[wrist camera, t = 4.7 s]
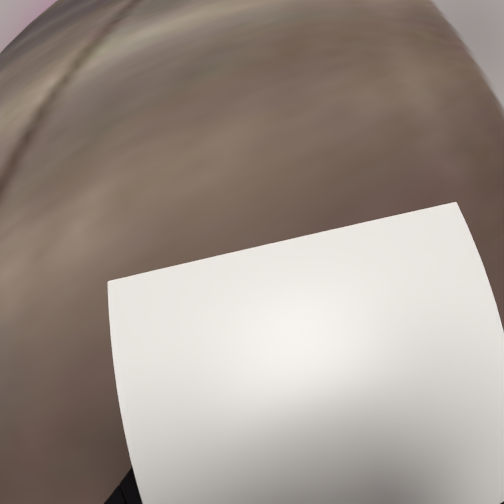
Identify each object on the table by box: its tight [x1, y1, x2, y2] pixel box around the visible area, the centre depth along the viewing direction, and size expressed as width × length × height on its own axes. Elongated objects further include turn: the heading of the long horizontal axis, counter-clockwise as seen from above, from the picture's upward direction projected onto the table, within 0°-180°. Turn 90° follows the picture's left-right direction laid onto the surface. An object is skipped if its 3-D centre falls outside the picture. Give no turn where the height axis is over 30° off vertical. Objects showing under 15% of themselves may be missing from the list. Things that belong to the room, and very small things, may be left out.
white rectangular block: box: [108, 202, 504, 504], centre depth 9 cm, size 6×7×11 cm
